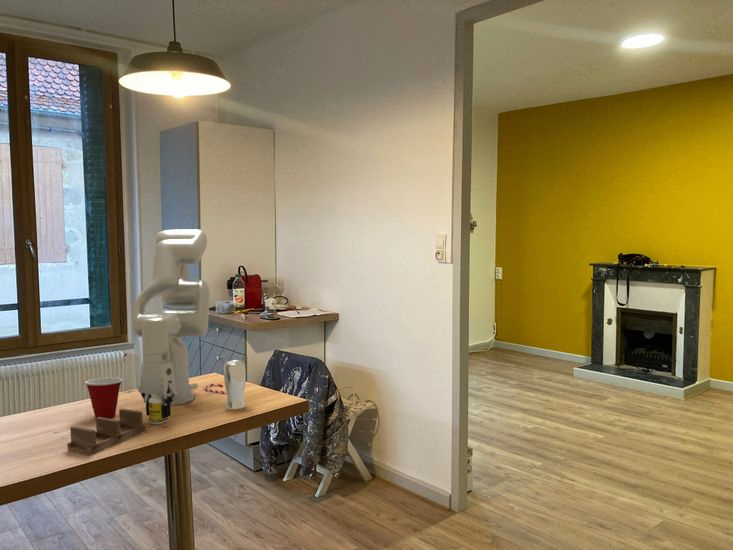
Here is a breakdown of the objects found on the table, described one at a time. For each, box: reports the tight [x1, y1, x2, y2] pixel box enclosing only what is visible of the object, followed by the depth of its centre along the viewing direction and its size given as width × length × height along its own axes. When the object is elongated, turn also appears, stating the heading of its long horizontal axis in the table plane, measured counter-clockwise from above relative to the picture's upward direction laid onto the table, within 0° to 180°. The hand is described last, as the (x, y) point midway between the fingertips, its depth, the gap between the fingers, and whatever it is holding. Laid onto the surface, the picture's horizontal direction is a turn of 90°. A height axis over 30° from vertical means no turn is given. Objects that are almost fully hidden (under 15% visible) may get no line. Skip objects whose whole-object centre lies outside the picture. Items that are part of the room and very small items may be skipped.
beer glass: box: [223, 359, 247, 411], centre depth 195 cm, size 7×7×15 cm
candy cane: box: [203, 383, 227, 395], centre depth 215 cm, size 8×1×15 cm
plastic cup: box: [84, 377, 123, 419], centre depth 186 cm, size 11×11×12 cm
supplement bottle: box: [148, 394, 169, 425], centre depth 181 cm, size 5×5×10 cm
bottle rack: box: [66, 408, 147, 457], centre depth 166 cm, size 20×8×6 cm, turn 155°
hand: (158, 415), depth 182 cm, fingers closed on supplement bottle, 5 cm apart
